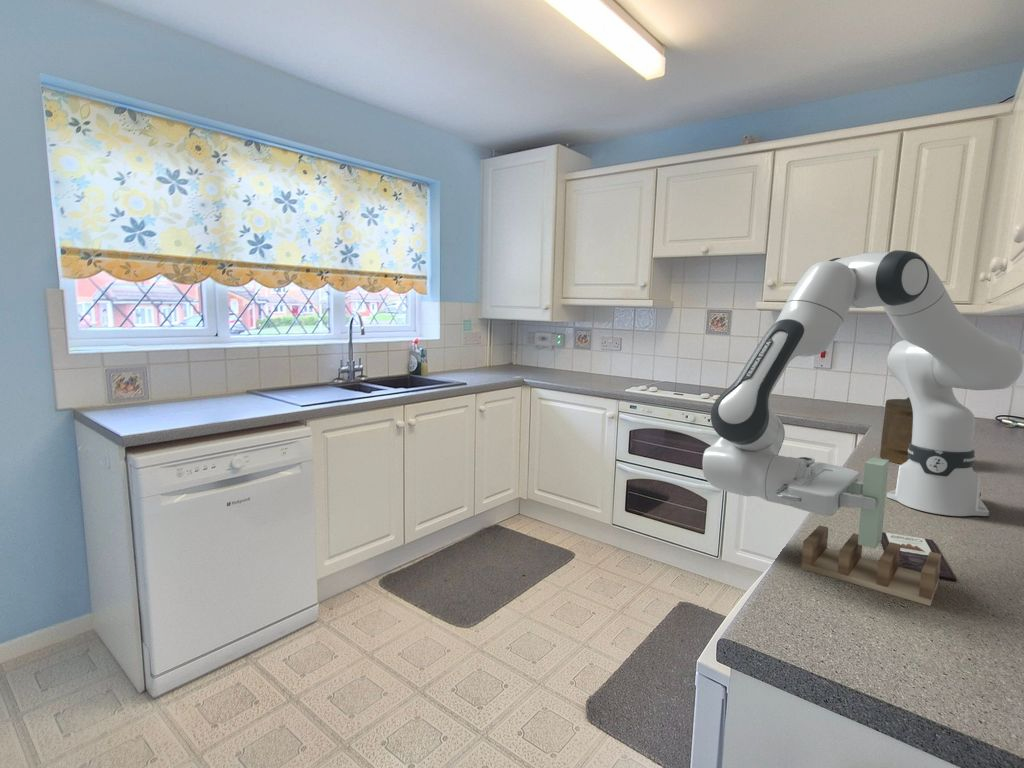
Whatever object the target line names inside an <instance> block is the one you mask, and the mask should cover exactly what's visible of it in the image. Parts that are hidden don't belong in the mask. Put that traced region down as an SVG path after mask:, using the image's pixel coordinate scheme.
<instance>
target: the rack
mask: <svg viewBox="0 0 1024 768" xmlns="http://www.w3.org/2000/svg"><path fill="white" fill-rule="evenodd" d="M858 535H859V533H858V534H857V533H852V534H851V535H850V537H849V538H848V539H847V541H846V542H845V543H844V545H842V547H841V548H840V549H839V550H836V549H833V548H828V539H829V537H828V536H829V527H828V526H823V525H818V526H817V527H816V528H814V530H813V531H812V532H811V533H810V534H809V535H808V536H807V537H806V538H805V539H804V540H803V542H802V543H803V544H802V557H801V569H802V570H806V571H808V572H812V573H816V574H819V575H822V576H826V577H830V578H833V579H837V580H839V581H843V582H846V583H850V584H853V585H857V586H860V587H863V588H867V589H870V590H875V591H877V592H880V593H883V594H884V593H885V594H887V595H892V596H895V597H897V598H901V599H904V600H908V601H912V602H915V603H919V604H922V605H925V606H929V607H931V605H932V602H933V599H934V597H935V595H936V591H937V588H938V586H939V580H940V579H939V572H940V562H941V555H942V553H941V554H939V553H934V552H929V555H928V557H927V559H926V562H925V564H924V566H923V569H922V571H921V572H917V571H913V570H909V569H905V568H902V567H899V557H900V546H901V544H896V543H892V542H890V543H889V545H888V546H887V548H886V549H885V551H883V553H882V554H881V556H880V558H878V559H879V560H874V559H870V558H867V557H863V556H862V555H863V554H862V553H863V546H862V545H858Z"/></svg>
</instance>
